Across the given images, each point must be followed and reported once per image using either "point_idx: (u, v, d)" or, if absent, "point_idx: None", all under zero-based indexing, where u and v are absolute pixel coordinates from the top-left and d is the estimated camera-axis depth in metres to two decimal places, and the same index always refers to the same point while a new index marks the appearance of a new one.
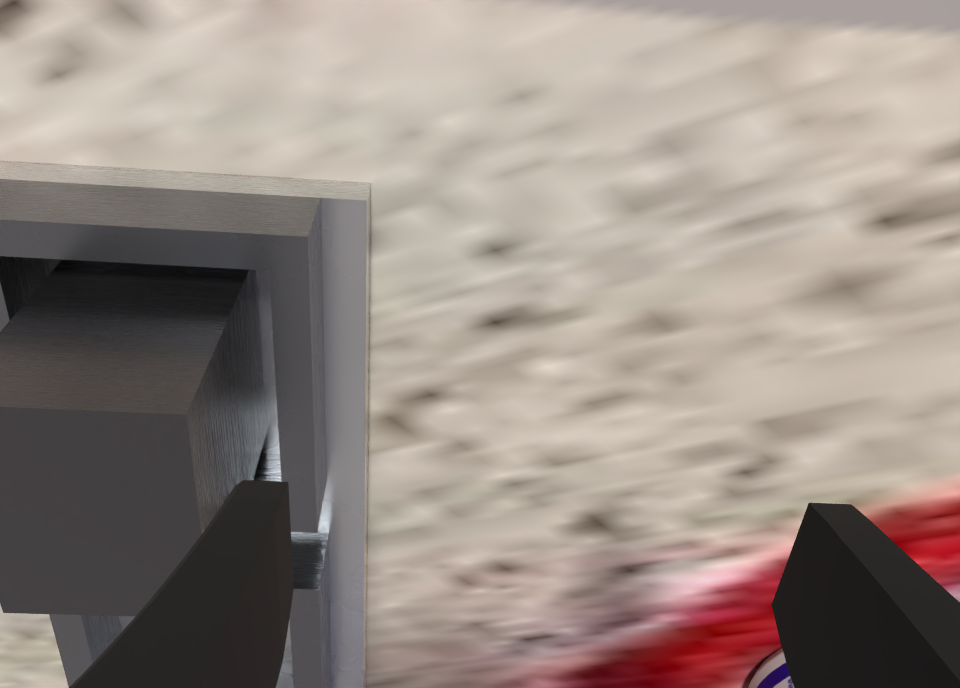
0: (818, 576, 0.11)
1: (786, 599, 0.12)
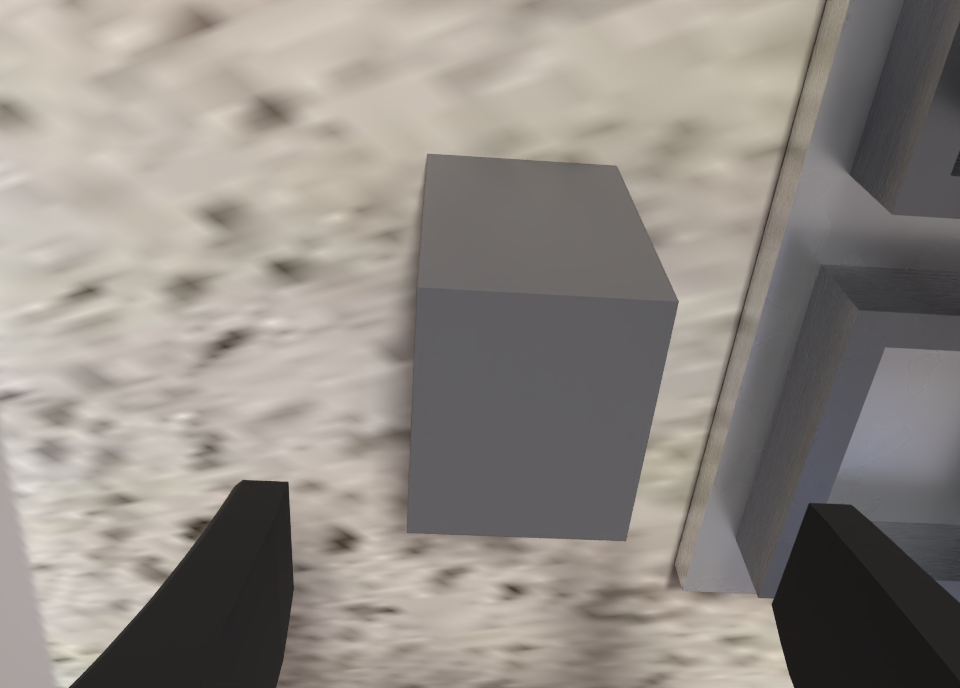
0: (818, 576, 0.11)
1: (786, 599, 0.12)
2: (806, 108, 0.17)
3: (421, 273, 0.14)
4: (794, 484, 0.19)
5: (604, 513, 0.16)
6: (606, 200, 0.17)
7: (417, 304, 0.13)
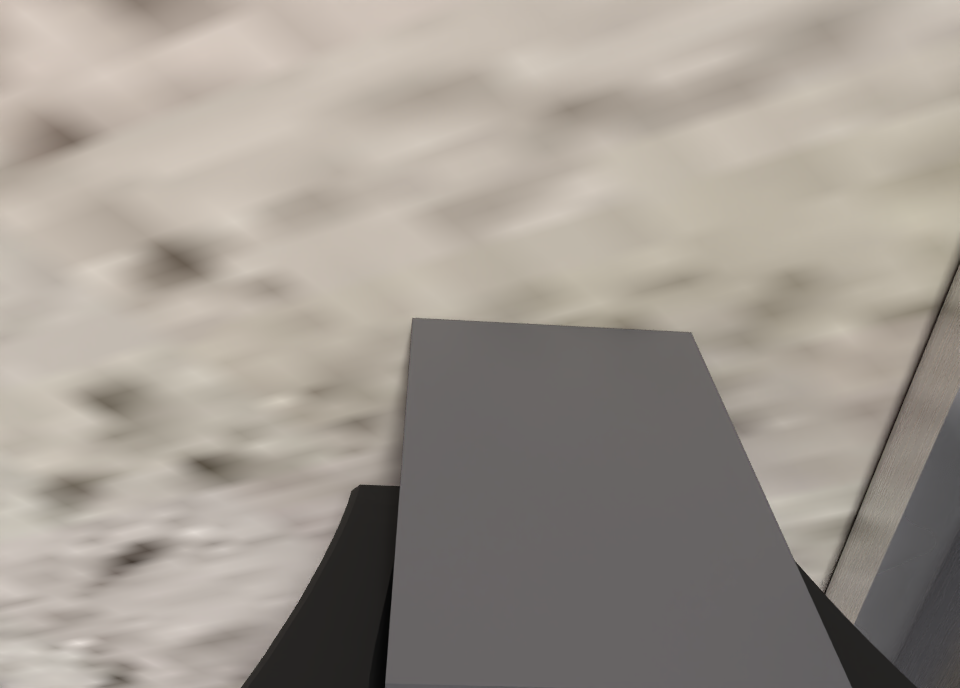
0: None
1: None
2: None
3: (395, 636, 0.08)
4: None
5: None
6: (687, 415, 0.11)
7: None
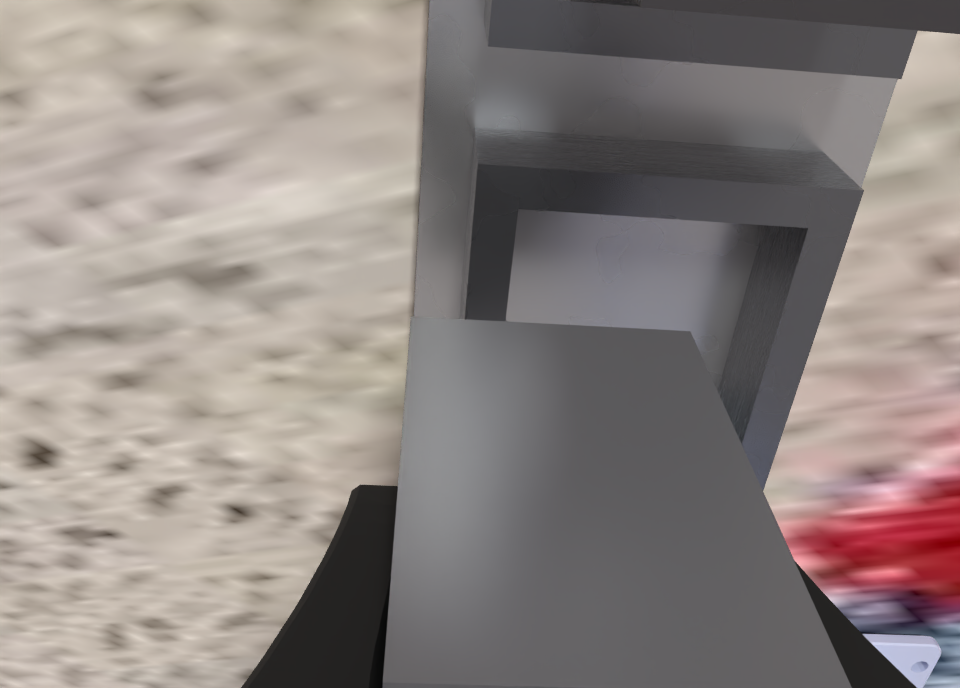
0: None
1: None
2: None
3: (392, 635, 0.08)
4: None
5: None
6: (686, 413, 0.11)
7: None
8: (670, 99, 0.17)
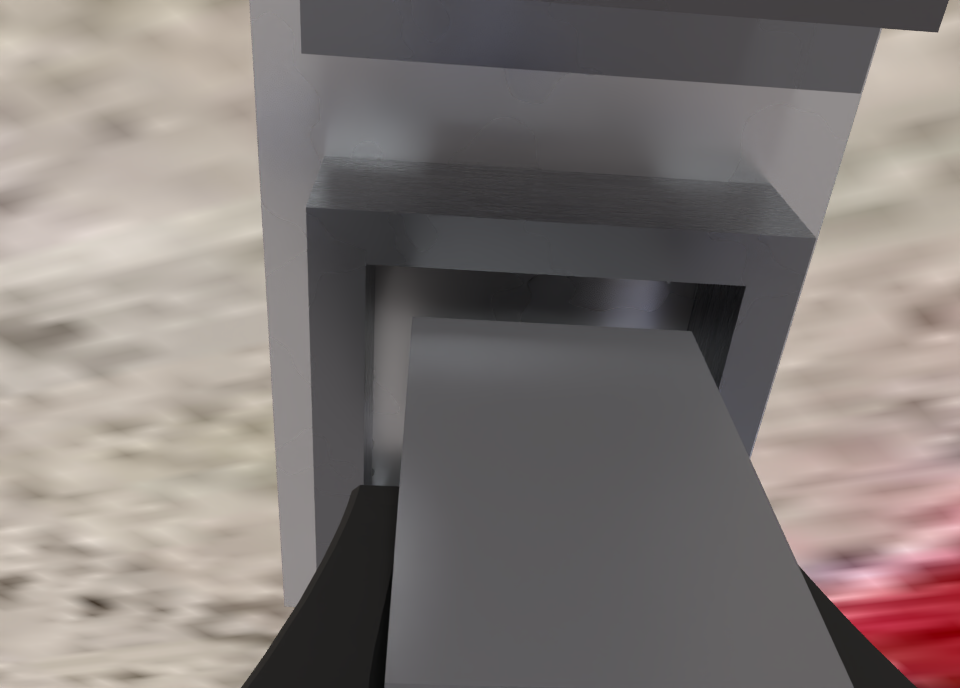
0: None
1: None
2: None
3: (394, 635, 0.08)
4: (315, 464, 0.14)
5: None
6: (688, 413, 0.11)
7: None
8: (572, 120, 0.13)
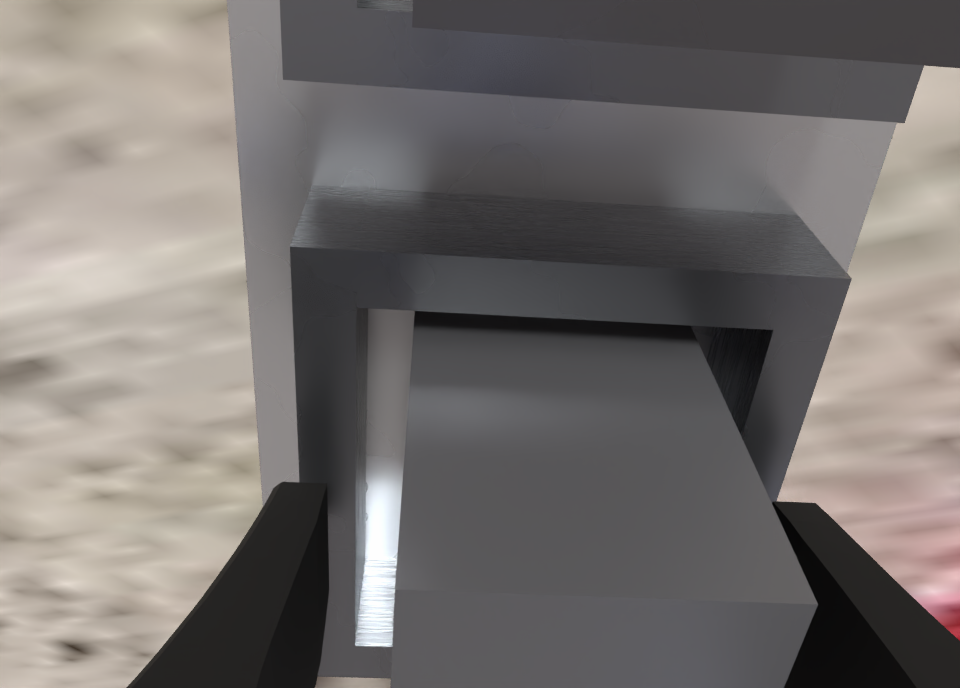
0: None
1: None
2: None
3: (403, 551, 0.08)
4: None
5: None
6: (673, 370, 0.12)
7: (395, 610, 0.08)
8: (582, 146, 0.12)
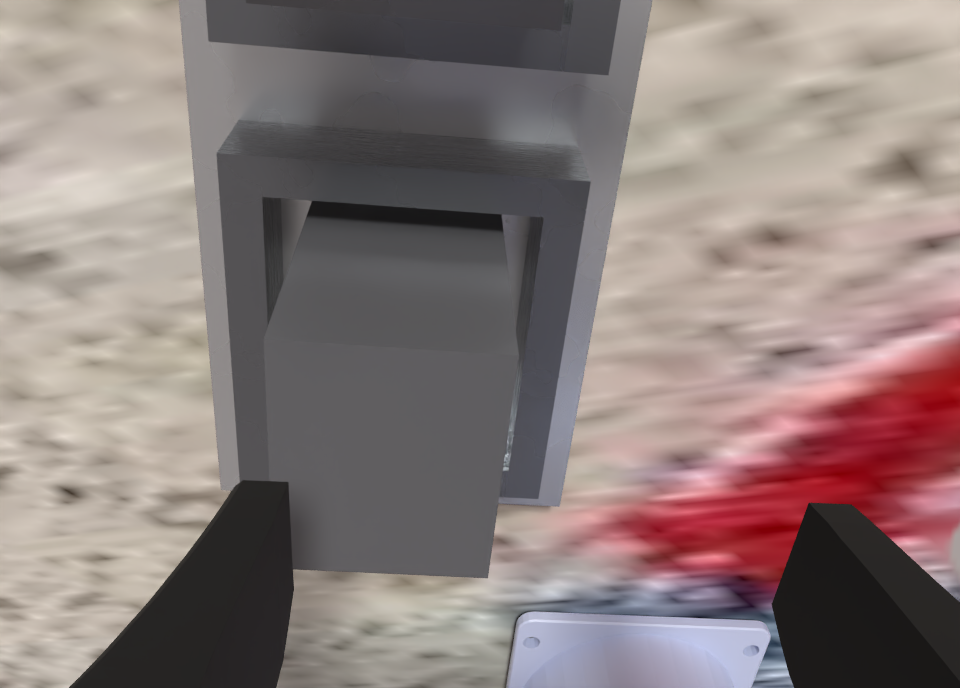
0: (818, 576, 0.11)
1: (786, 599, 0.12)
2: None
3: (272, 323, 0.14)
4: (232, 355, 0.19)
5: (464, 552, 0.16)
6: (479, 245, 0.17)
7: (265, 354, 0.14)
8: (423, 94, 0.18)
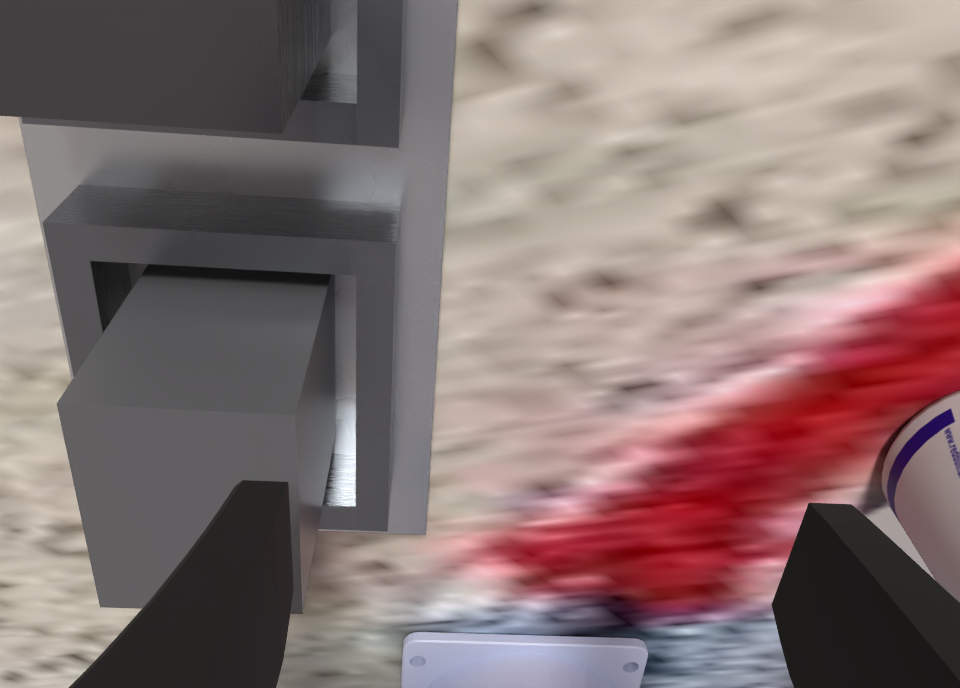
0: (818, 576, 0.11)
1: (786, 599, 0.12)
2: None
3: (70, 387, 0.15)
4: None
5: None
6: (298, 301, 0.18)
7: (61, 417, 0.15)
8: (249, 160, 0.19)
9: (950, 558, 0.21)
